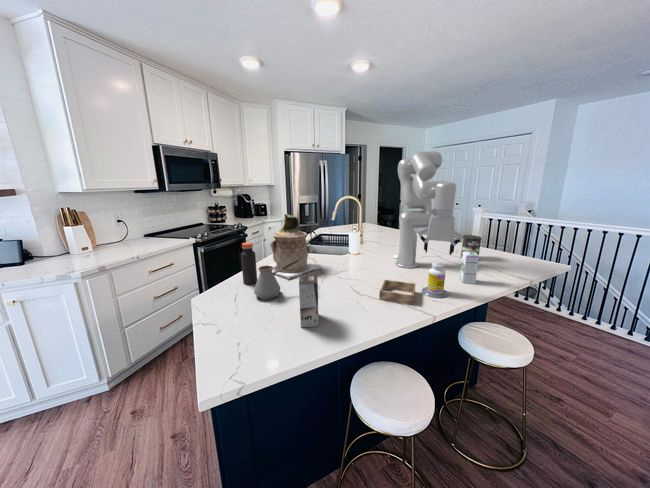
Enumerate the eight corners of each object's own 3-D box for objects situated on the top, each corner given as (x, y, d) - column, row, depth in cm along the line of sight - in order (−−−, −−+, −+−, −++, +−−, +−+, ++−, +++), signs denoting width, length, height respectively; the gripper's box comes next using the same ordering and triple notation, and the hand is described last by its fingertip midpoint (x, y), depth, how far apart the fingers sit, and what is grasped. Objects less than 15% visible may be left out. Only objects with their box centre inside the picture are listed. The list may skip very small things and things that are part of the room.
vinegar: (240, 282, 128) (237, 243, 123) (252, 278, 133) (249, 241, 128) (248, 286, 124) (244, 245, 119) (260, 282, 129) (257, 243, 124)
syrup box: (475, 284, 123) (479, 255, 120) (462, 283, 124) (466, 254, 121) (471, 279, 129) (475, 251, 125) (458, 279, 130) (462, 251, 126)
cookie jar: (321, 268, 147) (320, 212, 140) (288, 281, 130) (284, 217, 122) (293, 260, 164) (291, 209, 156) (260, 270, 146) (255, 213, 138)
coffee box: (319, 326, 89) (318, 283, 85) (300, 327, 89) (298, 284, 85) (317, 313, 98) (316, 273, 94) (300, 314, 97) (299, 274, 94)
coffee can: (481, 261, 157) (484, 238, 153) (463, 260, 158) (465, 238, 155) (474, 256, 166) (477, 235, 163) (457, 255, 168) (460, 234, 165)
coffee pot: (255, 303, 107) (252, 268, 103) (253, 292, 117) (250, 260, 113) (305, 295, 113) (304, 262, 110) (299, 285, 124) (297, 255, 120)
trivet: (416, 292, 115) (416, 291, 115) (429, 285, 122) (429, 284, 122) (440, 300, 107) (440, 299, 107) (452, 293, 114) (453, 292, 114)
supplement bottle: (436, 296, 110) (438, 267, 107) (423, 290, 116) (426, 263, 113) (446, 292, 113) (449, 265, 110) (434, 287, 119) (436, 261, 116)
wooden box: (379, 299, 108) (379, 290, 107) (384, 287, 120) (385, 279, 119) (412, 305, 103) (413, 295, 102) (414, 291, 115) (415, 283, 114)
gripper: (419, 213, 106) (416, 253, 111) (467, 215, 100) (461, 257, 104) (420, 210, 112) (417, 248, 117) (465, 212, 106) (459, 252, 111)
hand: (438, 252), depth 111 cm, fingers open, 9 cm apart
